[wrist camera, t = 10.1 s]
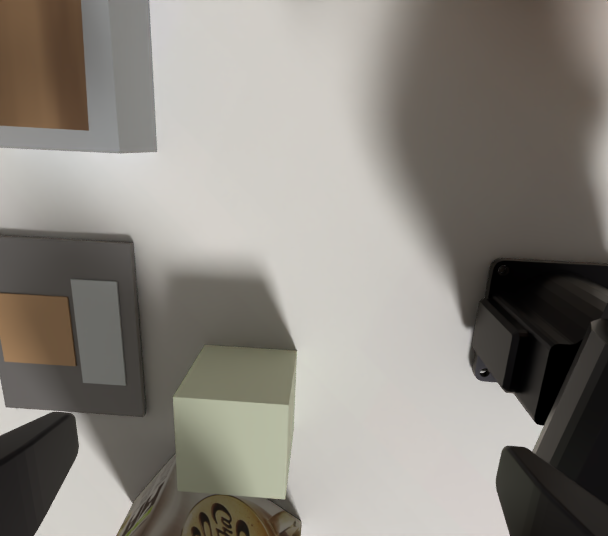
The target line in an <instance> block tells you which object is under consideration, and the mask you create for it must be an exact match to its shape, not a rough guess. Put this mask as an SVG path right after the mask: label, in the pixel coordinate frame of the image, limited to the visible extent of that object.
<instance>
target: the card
mask: <svg viewBox="0 0 608 536" xmlns="http://www.w3.org/2000/svg"><path fill="white" fill-rule="evenodd" d="M0 379H1V384H2V390H3V395H4V400H5V406H6V407H11V408H25V409H39V410H53V411H68V412H82V413H96V414H111V415H125V416H139V417H143V416H144V415H145V413H146V404H145V391H144V377H143V364H142V351H141V337H140V324H139V311H138V298H137V284H136V271H135V258H134V244H133V242H116V241H97V240H79V239H60V238H41V237H23V236H4V235H0Z"/></svg>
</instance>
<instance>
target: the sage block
mask: <svg viewBox="0 0 608 536" xmlns="http://www.w3.org/2000/svg"><path fill="white" fill-rule="evenodd" d="M296 360H297V351H295V350H280V349H264V348H249V347H233V346H217V345H204V347H203V348H202V350H201V352H200V353H199V355H198V357H197V358H196V360H195V361H194V363H193V365H192V366H191V368H190V370H189V371H188V373H187V375H186V376H185V378H184V379H183V381H182V383H181V384H180V386H179V388H178V389H177V391H176V393H175V394H174V396H173V411H174V430H175V450H176V469H177V488H178V491H183V492H196V493H209V494H222V495H234V496H247V497H260V498H273V499H285V497H286V489H287V481H288V472H289V464H290V455H291V447H292V439H293V430H294V407H295V384H296Z"/></svg>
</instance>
